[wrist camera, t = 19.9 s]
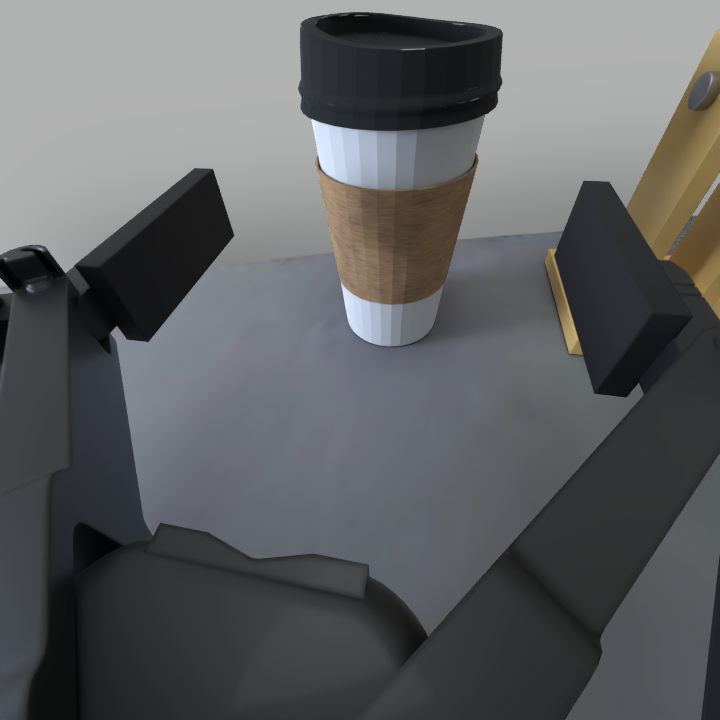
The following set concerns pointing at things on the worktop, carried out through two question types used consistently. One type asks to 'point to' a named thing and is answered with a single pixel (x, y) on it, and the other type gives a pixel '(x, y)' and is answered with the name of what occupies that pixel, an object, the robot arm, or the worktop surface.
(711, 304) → the lever stand
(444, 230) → the coffee cup
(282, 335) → the worktop surface
